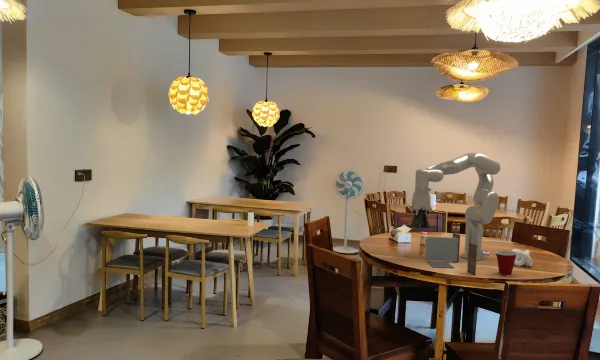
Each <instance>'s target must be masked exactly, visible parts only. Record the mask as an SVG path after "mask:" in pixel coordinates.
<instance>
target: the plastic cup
mask: <svg viewBox="0 0 600 360" xmlns="http://www.w3.org/2000/svg"><path fill="white" fill-rule="evenodd" d="M494 253H495V256H496V259H497V267H498V273H500V274H499V275H501V274H502V276H507V275H510V276H511V275H512V274H513V269H514V266H515V265H514V262H515V259H516V255H517V252H514V251H512V250H496V251H495V252H494Z"/></svg>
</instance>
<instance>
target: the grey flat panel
mask: <svg viewBox="0 0 600 360" xmlns="http://www.w3.org/2000/svg"><path fill="white" fill-rule="evenodd" d="M457 253H458V238H452V237H450V236H449V237H448V236H426V238H425V256H424V260H425V261H435V262H454V261H457Z"/></svg>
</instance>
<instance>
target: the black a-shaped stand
mask: <svg viewBox="0 0 600 360" xmlns="http://www.w3.org/2000/svg"><path fill="white" fill-rule="evenodd" d="M422 209H423V207H422V208H421V209H420V210H418V218H416V217H415V214H414V213H413V214H414V215H413V217H412V221H411V222H410V227H411V228H415V229H429V228H430V223H429V219H428V216H427V215H426V208H425V211H424V210H422ZM423 217H425V222H423Z"/></svg>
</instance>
